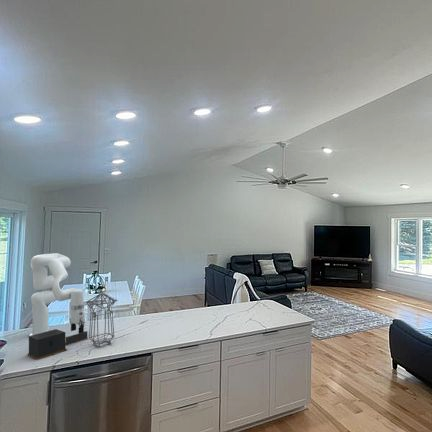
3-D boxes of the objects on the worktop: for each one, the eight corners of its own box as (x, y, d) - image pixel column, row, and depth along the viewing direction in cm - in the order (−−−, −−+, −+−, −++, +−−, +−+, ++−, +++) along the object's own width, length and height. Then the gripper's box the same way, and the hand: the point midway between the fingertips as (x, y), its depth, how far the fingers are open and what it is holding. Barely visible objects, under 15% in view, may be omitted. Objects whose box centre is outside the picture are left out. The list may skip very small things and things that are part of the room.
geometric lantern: (93, 350, 215) (93, 297, 215) (84, 344, 225) (85, 293, 226) (118, 343, 227) (118, 292, 227) (109, 338, 237) (109, 289, 238)
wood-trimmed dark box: (27, 355, 208) (27, 336, 208) (56, 346, 222) (56, 328, 222) (38, 360, 201) (38, 340, 201) (67, 350, 215) (67, 332, 215)
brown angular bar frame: (87, 338, 237) (87, 331, 237) (66, 345, 225) (66, 337, 225) (77, 335, 243) (77, 328, 243) (56, 341, 231) (56, 333, 231)
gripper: (89, 307, 230) (89, 331, 230) (76, 304, 239) (76, 328, 239) (78, 310, 224) (78, 335, 223) (64, 307, 232) (65, 331, 232)
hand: (77, 331), depth 231 cm, fingers open, 9 cm apart
